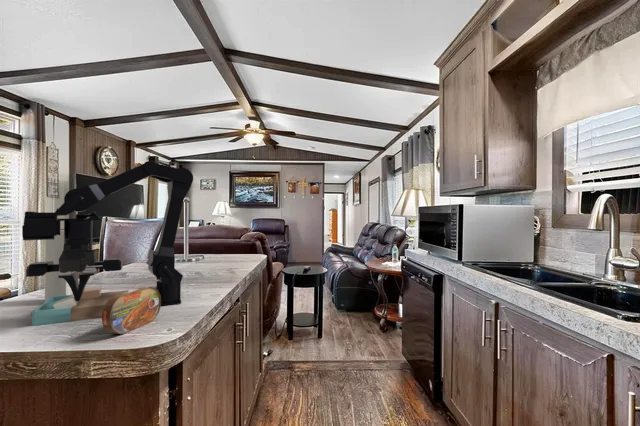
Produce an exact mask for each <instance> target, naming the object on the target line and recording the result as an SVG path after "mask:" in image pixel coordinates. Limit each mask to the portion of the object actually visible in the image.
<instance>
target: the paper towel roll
mask: <svg viewBox="0 0 640 426" xmlns="http://www.w3.org/2000/svg"><path fill="white" fill-rule="evenodd" d="M44 241H45V249H44V252H45V253H44V254H45V255H44V259H45V260H44V262H48V261H53V263H54V264H59V258H60V256H61V254H62V252H63V247H64V228H61V235H57V236H55V239H54V240H44ZM58 276H59V271H57V272H47V273H46V274H45V275H44V302H46V301H47V300H48V299H49V298H51V297H53V296H64V295H72V290H71V288H70V286H69V284H68V283H67V282H66V280H65V279H64V278H58Z"/></svg>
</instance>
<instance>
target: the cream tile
mask: <svg viewBox="0 0 640 426" xmlns="http://www.w3.org/2000/svg"><path fill="white" fill-rule="evenodd" d="M71 295H72V296H70V297H67V298H64V299H61V300H58V301H56V302H55V303H54V305H53V306H54V308H55V309H59V308H69V307H73V306H75V305H77V303H78V301H76V300H75V297H74V295H73V294H71Z"/></svg>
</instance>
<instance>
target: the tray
mask: <svg viewBox="0 0 640 426" xmlns="http://www.w3.org/2000/svg"><path fill="white" fill-rule="evenodd" d="M72 295H73V294H71V295H64V296H53V297H51V298H49V299H48V300H47V301H46V302H45V301H44V302H43V303H42V304H41V305H39V306H38V307H36V309H34V310H33V311H32V312H31V313H32V316H31V317H32V321H31V324H32V325H31V326H32V327H35V326H42V325H43V326H44V325H51V324H52V325H53V324H59V323H60V324H61V323H69V322H71V321H70V317H71V308H72V307H69V308H59V309H55V308H54V306H53V305H54V303H55V302H56V301H58V300H61V299H64V298H67V297H70V296H72Z"/></svg>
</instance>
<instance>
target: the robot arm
mask: <svg viewBox="0 0 640 426" xmlns="http://www.w3.org/2000/svg"><path fill="white" fill-rule="evenodd" d="M146 178H151V179H152V178H153V179H155V180H157V181H161V182H163V183H167V188H166V189H167V202H166V207H165V210H164V216H163V221H162V224H161V228H160V234H159V239H158V243H157V245H156V247H155V249H154V250H152V249H149V250H148V258H147V261H146V262H145V264H146V265H148V266H147V269H148V271H149V273H151V274H152V275H153V276H154V277H155V279H156V280H157V281H156V286H153V287H154V288H156V289H157V290H158V292H159V293H160V297H161V306H167V305H177V304H178V305H179V304H182V299H181V298H182V297H181V295H182V294H181V292H182V290H181V289H182V288H181V282H182V280H183V276H184V275H183V274H182V273H181V272H180V271H178V270H177V269H176V268H175V265H176V264H175V262H176V260H175V259H176V258H175V248H174V247H175V241H176V238H177V233H178V229H179V224H180V219H181V215H182V210H183V204H184V200H185V198H186V197H187V195H188V194H189V192H190V189H191V187H192V184H193V182H194V174H193V173H192V171H190V170H189V169H188V168H186V167H174V166H169V165H165V164H161V163H158V162H155V161H152V160H148V161H145V162H144V163H143V164H140V165H138V166H136V167H133V168H132V169H131V168H130V169H128V170H126V171H125V172H122V173H119V174H117V175H115V176H113V177H110V178H108V179H106V180H104V181H100V182H97V183H92V184H88V185H84V186H80V187H75V188H72V189H70V190H68V191H67V192H66V193H65V195H64V198H63V201H64V202H63V203H62V204H61V205H60V206H59V207H58V208H56V209H55V211H54V212H40V211H39V212H38V211H25V212H24V217H23V225H22V227H21V228H22V229H21V230H22V231H21V232H22V233H21V234H22V241H24V242H25V241H45V240H54V239H55V236H57V235H61V229H62V225H61V224H62V222H63V229H64V247H63V252H62V254H61V256H60V258H59V264H54V263H53V261H48V262H45V261H35V262H33V263H29V264H28V266H26V269H25V277H26V278H27V277H28V278H29V277H31V278H32V277H42V276H45V274H46V273H47V272H57V271H59V276H58V278H64V279H65V280H66V282H67V283H68V284H69V286H70V288H71V294H72V295H74V297H75V300H76V301H80V299H81V296H82V294H83V291H84V289H85V288H86V286H87V284H88V282H89V280H90V278H91V277H92V276H95V275H96V274H97V273H98V271H97V270H100V269H102V270H104V271H105V272H115V271H118V272H119V271H122V269H123V267H124V265H123V262H124V261H123V258H122V257H107V258H106V257H105V258H104V259H103V260H102V261H97V253H96V250H95V249H93V225H94V224H93V222H94V221H101V220H102V217H101V216H99V215H98V214H97V213H96V211H92V212H91V213H88V214H87V213H86V214H85V213H84V214H83V213H81V212H85V211H87V210H89V209H90V208H92V207H93V206H95V205H96V204H98V203H99V202H101V201H102V200H103V199H105V198H107V197H108V196H109V195H112V194H114V193H116V192H118V191H120V190H123V189H125V188H128V186H131V185H134V184H136V183H138V182H140V181H142V180H144V179H146ZM74 212H76V213H77V214H75V218H59V216H60V217H61V216H68V215H70V214H72V213H74ZM80 213H81V214H80ZM80 272H81V273H80ZM78 273H79V275H78Z"/></svg>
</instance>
